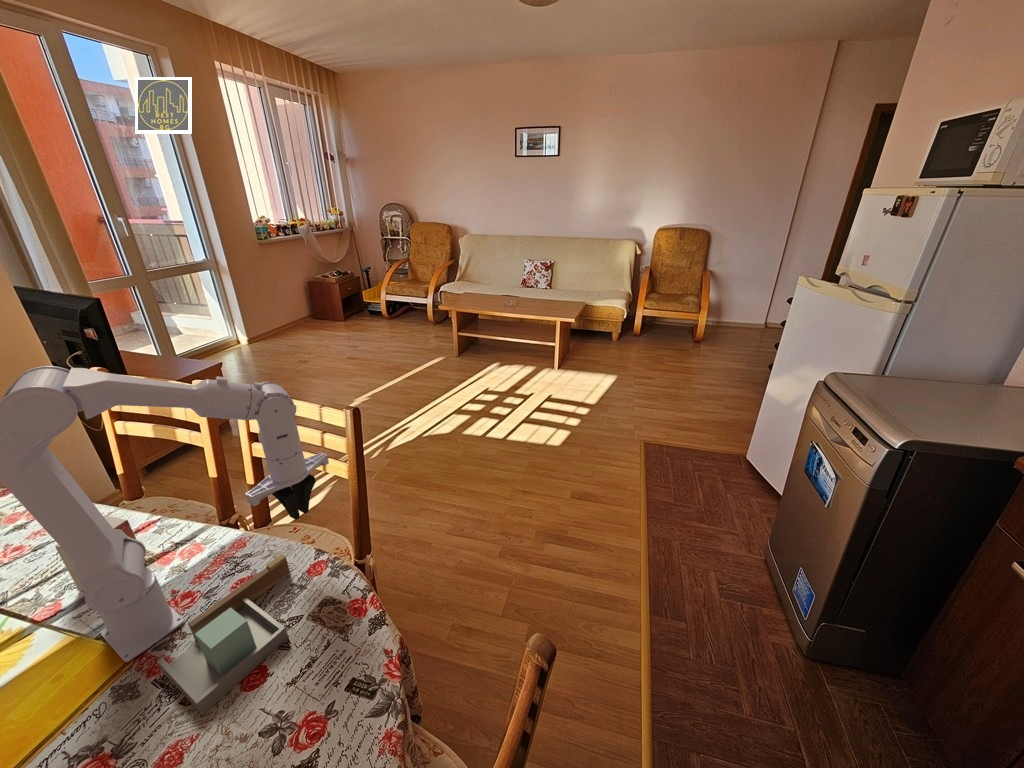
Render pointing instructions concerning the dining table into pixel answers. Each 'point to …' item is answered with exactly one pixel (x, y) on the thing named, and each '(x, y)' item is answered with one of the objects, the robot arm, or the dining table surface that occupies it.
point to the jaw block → (226, 641)
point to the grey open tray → (210, 686)
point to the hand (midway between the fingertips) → (299, 514)
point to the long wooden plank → (244, 593)
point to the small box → (115, 524)
